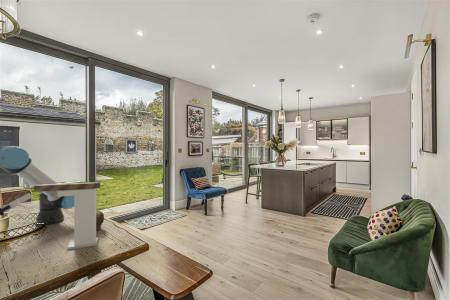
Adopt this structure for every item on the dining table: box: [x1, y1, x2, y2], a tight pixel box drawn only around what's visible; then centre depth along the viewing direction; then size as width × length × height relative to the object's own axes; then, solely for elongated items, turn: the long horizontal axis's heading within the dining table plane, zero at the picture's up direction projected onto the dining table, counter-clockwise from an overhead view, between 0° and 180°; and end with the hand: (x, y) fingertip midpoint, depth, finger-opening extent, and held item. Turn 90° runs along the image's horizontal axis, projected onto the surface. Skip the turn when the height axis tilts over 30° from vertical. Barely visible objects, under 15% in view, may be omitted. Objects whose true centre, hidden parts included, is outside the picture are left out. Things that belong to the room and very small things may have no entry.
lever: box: [33, 181, 101, 193], centre depth 116 cm, size 28×3×3 cm, turn 113°
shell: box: [96, 210, 105, 232], centre depth 139 cm, size 11×11×12 cm
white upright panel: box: [58, 188, 99, 250], centre depth 118 cm, size 17×8×30 cm, turn 114°
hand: (25, 198), depth 109 cm, fingers open, 13 cm apart
